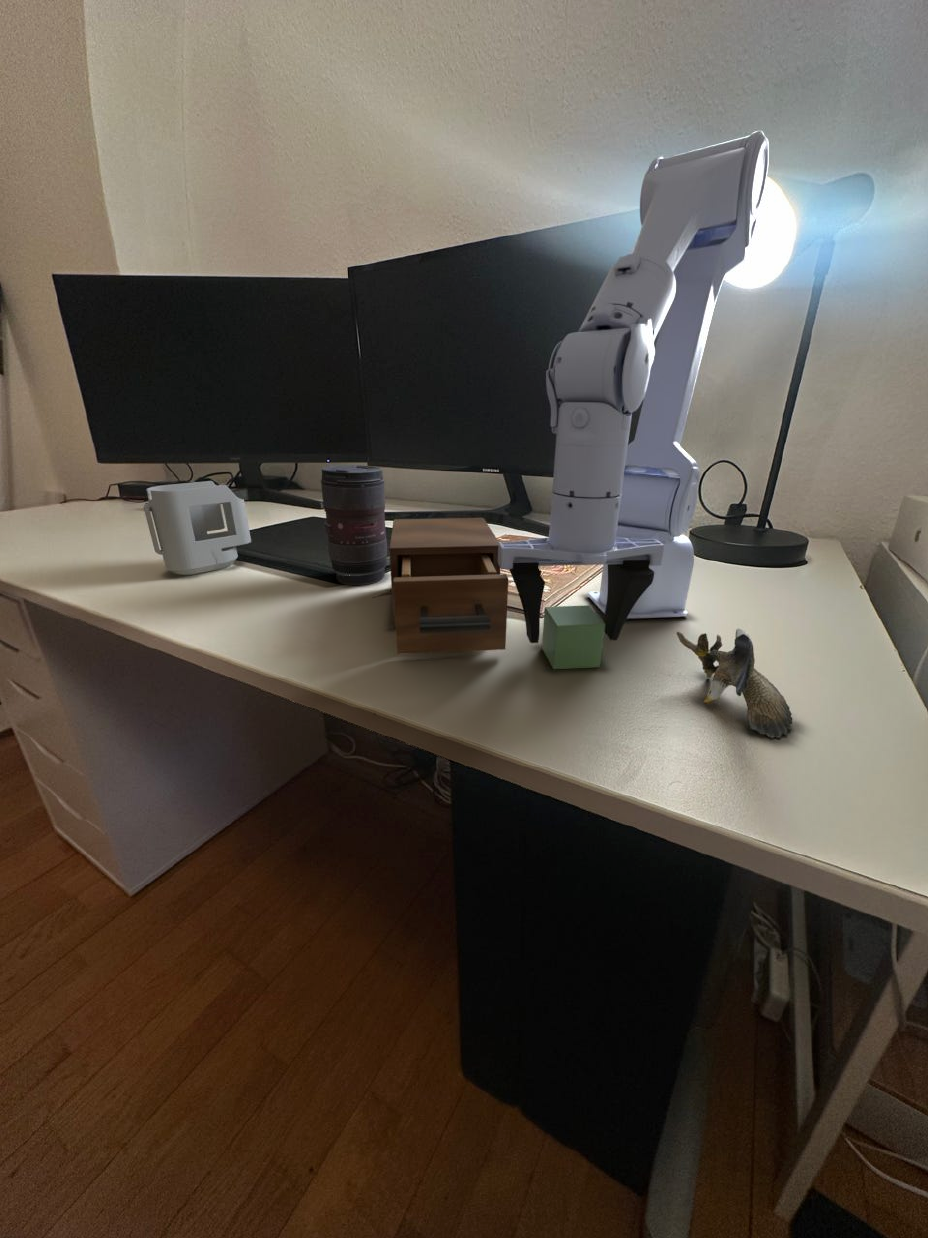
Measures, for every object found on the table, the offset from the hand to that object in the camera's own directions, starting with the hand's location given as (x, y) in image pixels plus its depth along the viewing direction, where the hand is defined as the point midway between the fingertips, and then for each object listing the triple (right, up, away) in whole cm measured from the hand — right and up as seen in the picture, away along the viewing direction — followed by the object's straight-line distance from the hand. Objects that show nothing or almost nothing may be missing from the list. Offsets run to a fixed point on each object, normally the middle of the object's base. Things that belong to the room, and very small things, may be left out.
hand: (571, 637), depth 47 cm
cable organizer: (-48, +9, +27) cm, 56 cm away
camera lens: (-25, +7, +23) cm, 34 cm away
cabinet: (-13, +4, +14) cm, 19 cm away
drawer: (-12, 0, +4) cm, 12 cm away
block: (0, -2, +1) cm, 2 cm away
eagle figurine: (+12, -5, -6) cm, 14 cm away
